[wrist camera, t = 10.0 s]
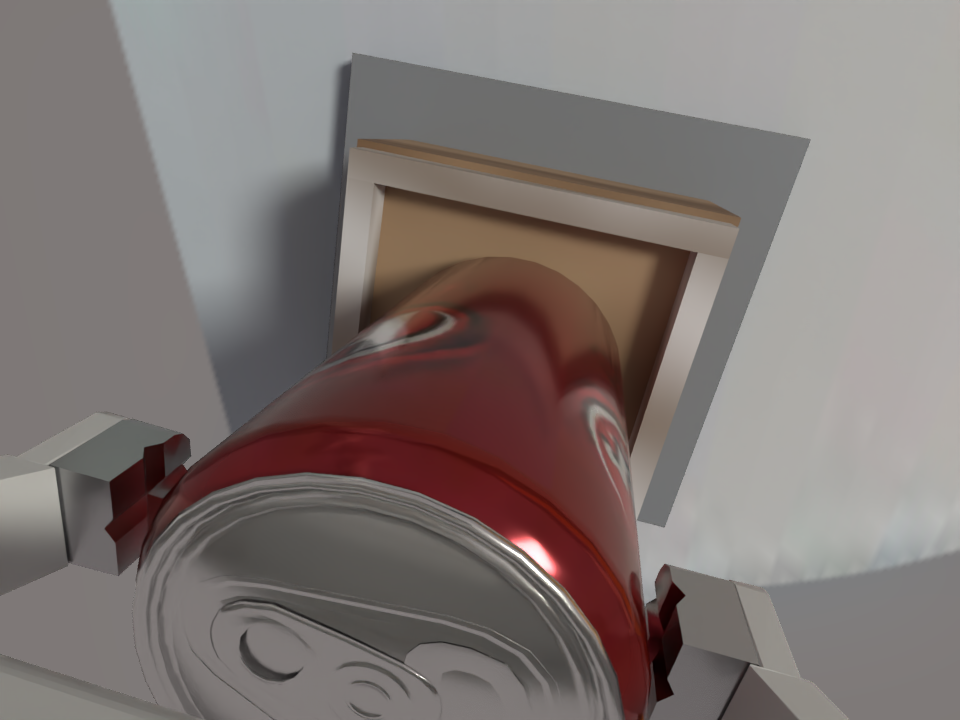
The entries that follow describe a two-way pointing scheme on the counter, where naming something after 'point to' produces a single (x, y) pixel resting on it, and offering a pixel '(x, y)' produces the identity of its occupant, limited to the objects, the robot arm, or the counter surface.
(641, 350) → the wooden tray
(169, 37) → the counter surface
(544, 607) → the soda can
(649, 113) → the plate
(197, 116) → the counter surface
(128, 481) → the robot arm
